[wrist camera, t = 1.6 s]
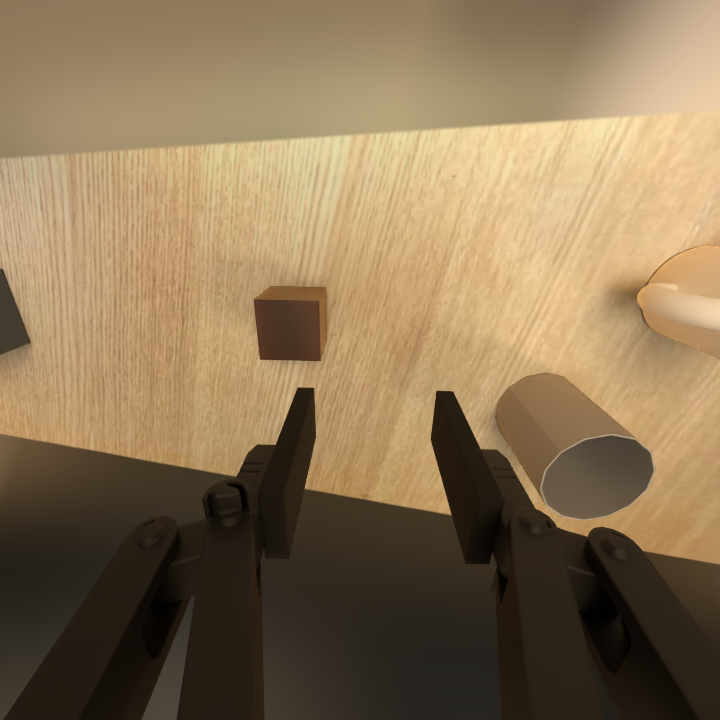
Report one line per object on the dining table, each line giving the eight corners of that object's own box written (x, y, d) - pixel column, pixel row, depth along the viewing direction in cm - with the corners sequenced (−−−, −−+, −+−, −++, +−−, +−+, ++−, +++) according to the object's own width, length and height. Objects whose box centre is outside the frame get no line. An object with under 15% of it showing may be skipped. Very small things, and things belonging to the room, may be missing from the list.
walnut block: (326, 287, 31) (319, 300, 26) (327, 340, 33) (320, 361, 28) (270, 286, 31) (253, 299, 26) (274, 338, 33) (259, 359, 28)
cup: (587, 426, 36) (661, 500, 27) (510, 454, 38) (556, 532, 29) (568, 360, 33) (645, 417, 24) (485, 392, 35) (528, 458, 26)
